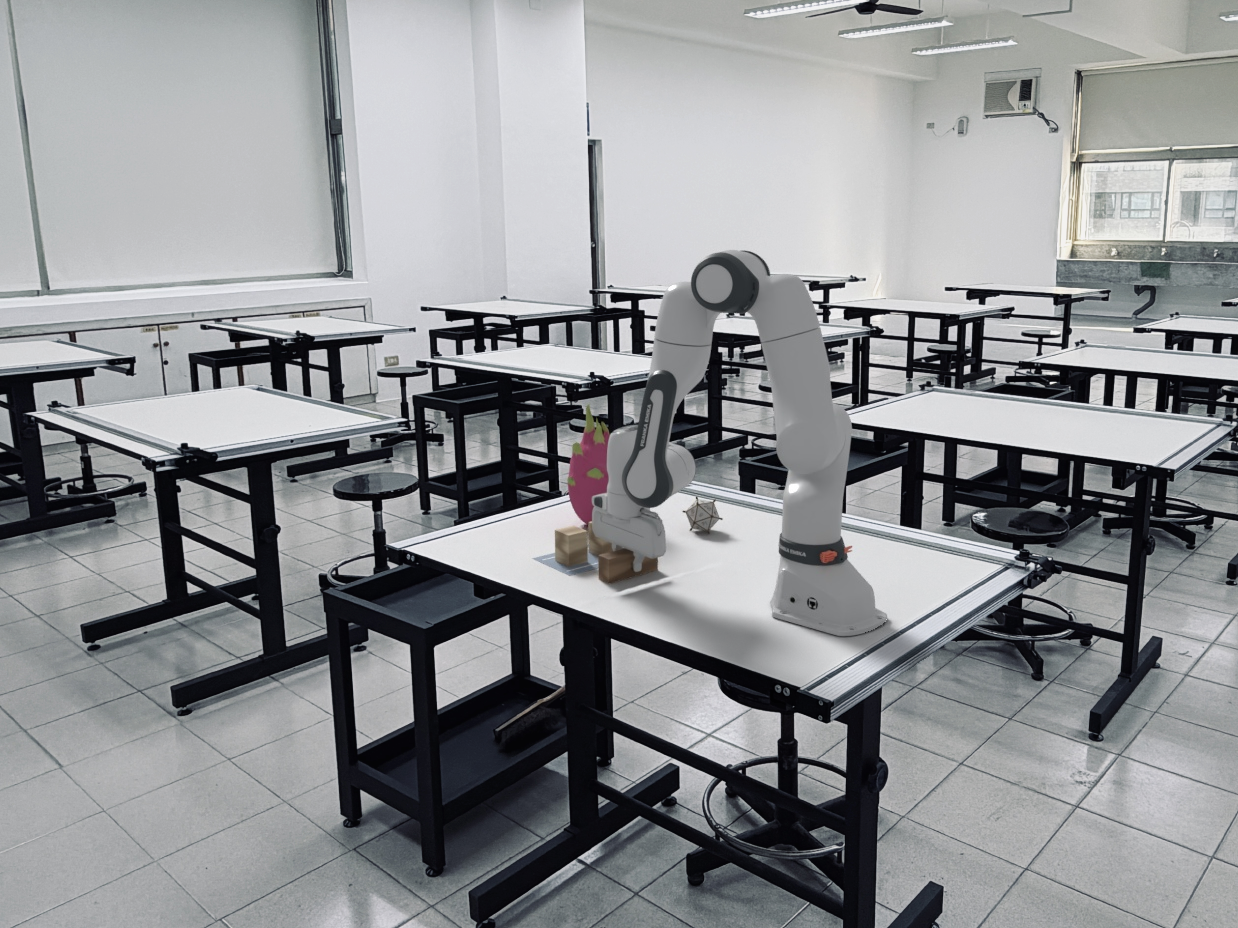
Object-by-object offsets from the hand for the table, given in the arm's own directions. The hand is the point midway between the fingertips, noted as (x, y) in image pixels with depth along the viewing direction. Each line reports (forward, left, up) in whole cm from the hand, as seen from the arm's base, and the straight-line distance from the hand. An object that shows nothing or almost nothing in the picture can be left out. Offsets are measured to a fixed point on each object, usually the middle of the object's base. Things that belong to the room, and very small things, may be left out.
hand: (628, 567), depth 213 cm
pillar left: (+14, +5, -2) cm, 15 cm away
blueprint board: (+14, 0, -2) cm, 14 cm away
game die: (+14, -34, -3) cm, 37 cm away
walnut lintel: (0, 0, -2) cm, 2 cm away
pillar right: (+14, -4, -2) cm, 15 cm away
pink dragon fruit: (+32, -17, -2) cm, 36 cm away
